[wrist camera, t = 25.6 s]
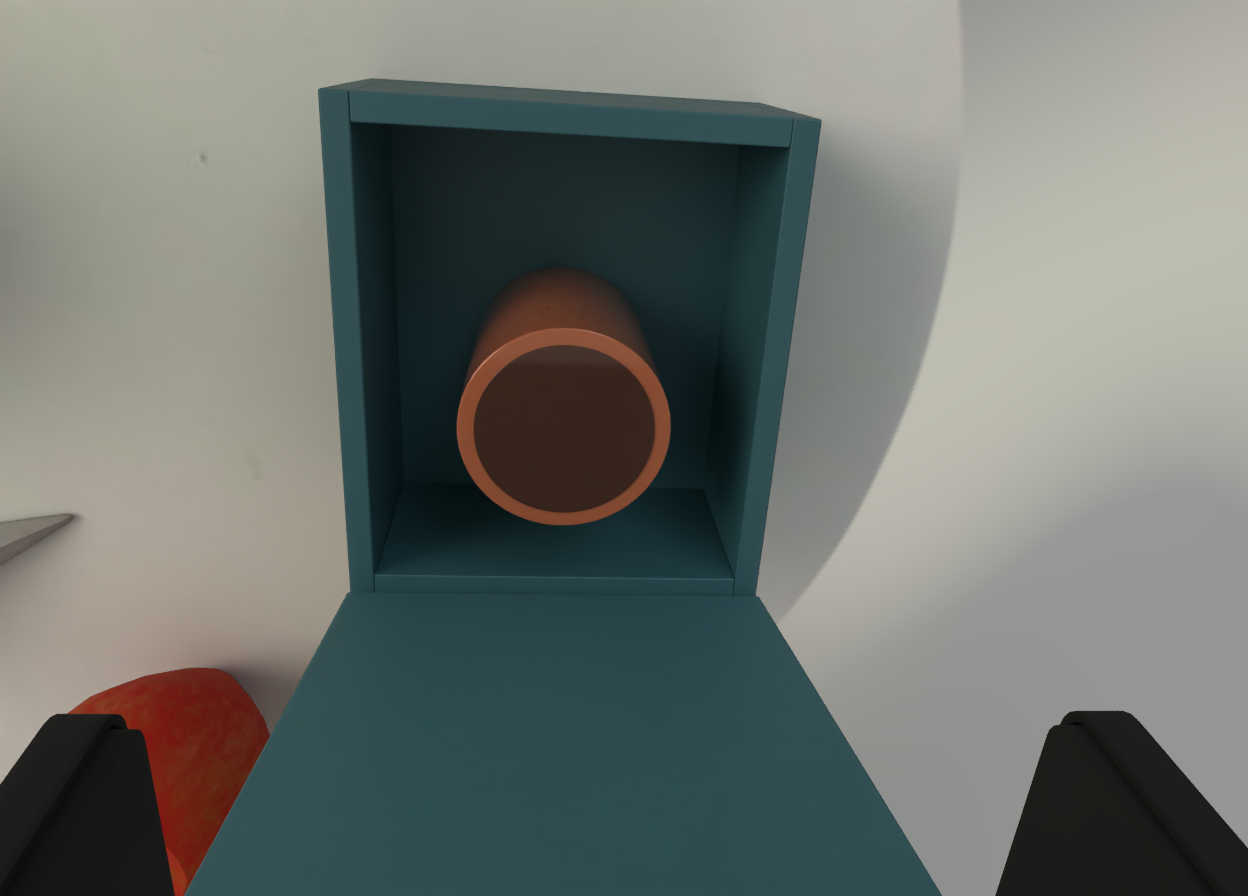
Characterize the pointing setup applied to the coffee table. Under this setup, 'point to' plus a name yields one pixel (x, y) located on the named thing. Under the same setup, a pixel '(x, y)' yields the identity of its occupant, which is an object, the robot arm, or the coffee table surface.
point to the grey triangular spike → (27, 533)
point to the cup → (562, 400)
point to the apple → (190, 752)
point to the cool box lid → (557, 760)
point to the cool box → (559, 237)
